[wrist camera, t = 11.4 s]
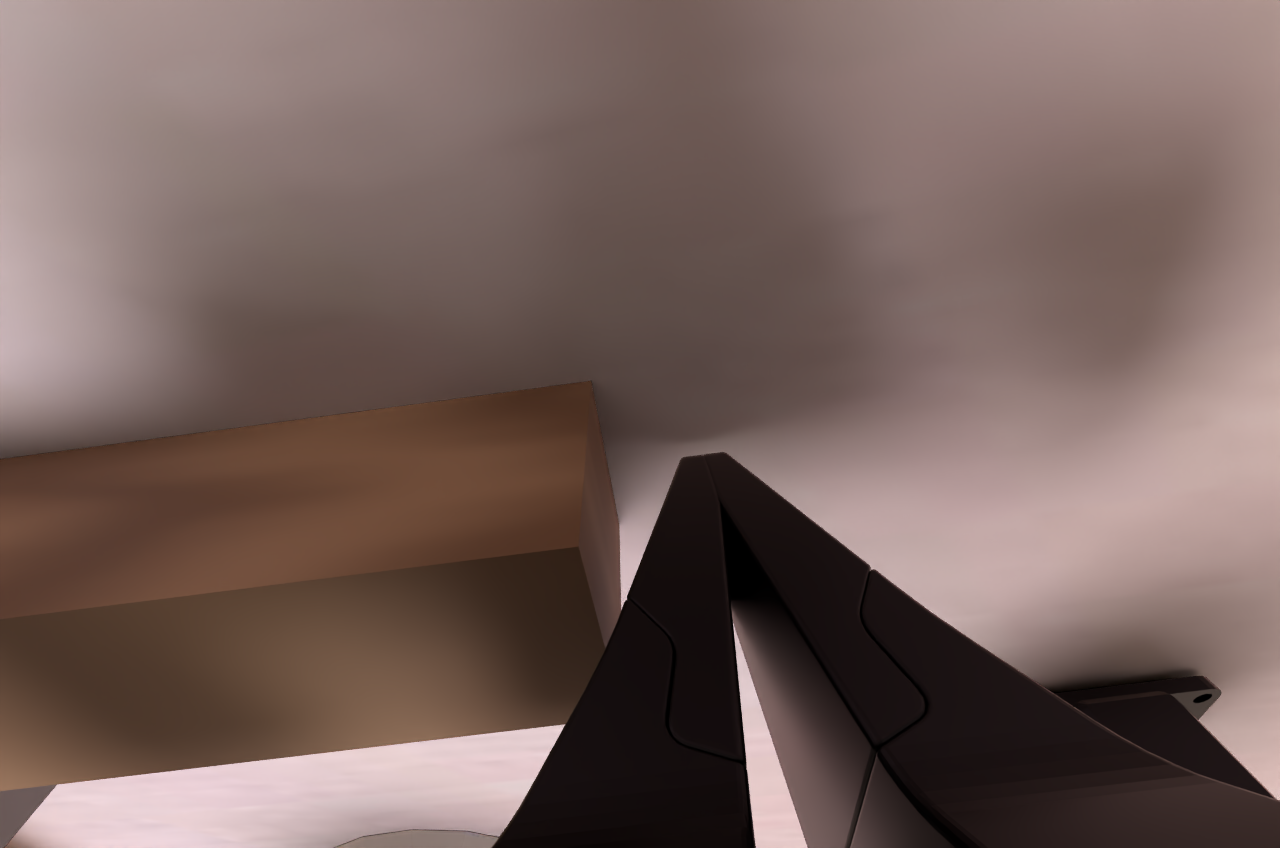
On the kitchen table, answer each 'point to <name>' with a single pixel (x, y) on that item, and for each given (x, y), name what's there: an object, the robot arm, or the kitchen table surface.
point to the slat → (304, 586)
